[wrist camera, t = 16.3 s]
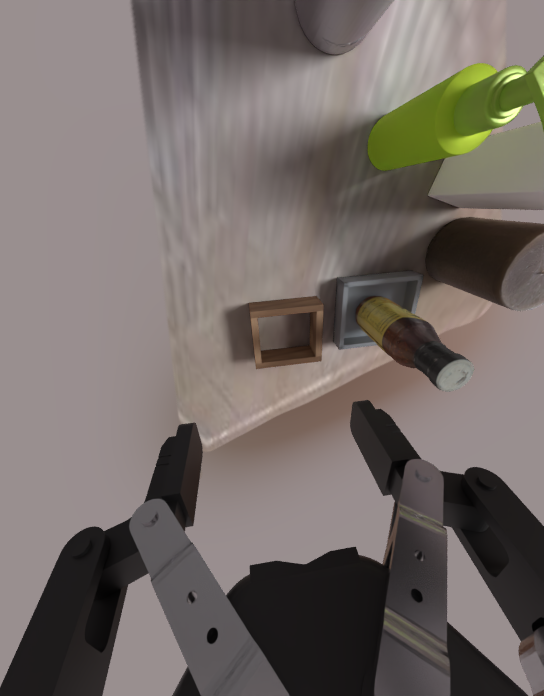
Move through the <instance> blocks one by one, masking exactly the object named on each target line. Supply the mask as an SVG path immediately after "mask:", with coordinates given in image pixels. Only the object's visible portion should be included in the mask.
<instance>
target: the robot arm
mask: <svg viewBox="0 0 544 696" xmlns="http://www.w3.org/2000/svg"><path fill="white" fill-rule="evenodd" d="M393 1H394V0H295V6H296V12H297V15H298V19H299V22H300V25H301V27H302V29H303V31H304V33H305V35H306V36H307V38H308V39H309V40H310V42H311V43H312V44H313V45H314V46H315V47H317V48H318V49H319V50H321V51H323V52H325V53H327V54H335V55H337V54H342V53H346V52H348V51H350V50H352V49H353V48H355V47H356V46H357V45H358V44H359V43H360V42H361V41H362V40H363V39H364V38H365V36H366V35H367V34H368V32H369V31H370V30H371V29H372V27H373V26H374V25H375V24H376V22H377V21H378V20H379V19H380V18H381V16H382V15H383V14H384V13H385V11H386V10H387V9H388V7H389V6H390V5H391V4H392V2H393ZM350 427H351V432H352V435H353V437H354V439H355V441H356V443H357V445H358V447H359V449H360V451H361V453H362V455H363V457H364V459H365V461H366V463H367V465H368V467H369V469H370V471H371V473H372V475H373V476H374V478H375V480H376V483H377V484H378V487H379V489H380V490H381V492H382V494H383V496H385V495H391V494H392V496H393V498H394V500H395V502H394V507H393V512H392V519H391V524H390V530H389V536H388V541H387V546H386V550H385V555H384V560H383V564H381V563H379V562H377V561H375V560H373V559H371V558H368V557H365V556H361V555H358V552H357V549H356V547H351V548H345V549H340V550H335V551H330V552H328V553H326V554H324V555H323V556H321V557H319V558H317V559H315V560H313V561H311V562H310V563H308V564H295V563H289V562H282V561H272V562H267V563H261V564H255V565H250V574H249V575H248V576H246V577H244V578H243V579H242V580H240V581H239V582H238V583H237V584H236V585H235V586H234V587H233V588H232V589H231V590H230V591H229V593H227V595H225V593H224V592H223V590H222V589H221V587H220V585H219V584H218V582H217V581H216V579H215V578H214V576H213V574H212V573H211V571H210V569H209V568H208V566H207V565H206V563H205V561H204V560H203V558H202V557H201V555H200V553H199V552H198V550H197V549H196V547H195V546H194V544H193V543H191V541H190V540H189V538H188V537H187V535H186V534H185V527H189V526H193V523H194V516H195V509H196V501H197V493H198V486H199V478H200V471H201V463H202V453H203V452H202V443H201V439H200V436H199V432H198V429H197V425H196V423H188V424H181V425H179V426H178V430H177V434H176V436H175V437H169V438H168V439H167V440H166V442H165V443H164V444H163V445H162V447H161V450H160V453H159V459H158V460H157V463H156V467H155V470H154V473H153V476H152V480H151V483H150V486H149V490H148V494H147V496H146V499H145V502H144V504H142V505H141V506H140V507H139V508H138V509H137V510H136V511H135V512H134V514H133V515H132V517H131V518H130V519H128V520H127V521H125V522H123V523H121V524H118V525H116V526H114V527H112V528H110V529H108V530H106V531H103V530H102V529H101V528H99V527H89V528H86V529H84V530H82V531H80V532H79V533H77V534H76V535H75V536H74V537H72V538H71V539H70V540H69V541H68V542H67V544H66V545H65V547H64V548H63V550H62V551H61V553H60V556H59V558H58V560H57V562H56V565H55V567H54V569H53V571H52V573H51V576H50V578H49V580H48V582H47V585H46V587H45V589H44V591H43V593H42V596H41V598H40V600H39V602H38V605H37V607H36V609H35V611H34V613H33V616H32V618H31V620H30V622H29V625H28V627H27V629H26V631H25V633H24V636H23V638H22V640H21V642H20V645H19V647H18V649H17V651H16V654H15V656H14V658H13V660H12V663H11V665H10V667H9V669H8V671H7V674H6V676H5V678H4V680H3V682H2V685H1V687H0V696H102V694H103V690H104V685H105V681H106V677H107V673H108V668H109V664H110V660H111V656H112V651H113V647H114V643H115V639H116V634H117V630H118V626H119V622H120V617H121V613H122V609H123V605H124V600H125V595H126V592H127V587H128V584H130V583H132V582H134V581H135V580H137V579H139V578H140V577H142V576H144V575H146V574H148V573H149V575H150V577H151V583H152V585H153V588H154V590H155V592H156V595H157V597H158V599H159V602H160V604H161V606H162V608H163V611H164V613H165V615H166V618H167V620H168V622H169V624H170V626H171V629H172V631H173V633H174V636H175V638H176V640H177V643H178V645H179V647H180V649H181V652H182V654H183V656H184V658H185V661H186V663H187V665H188V667H187V669H186V671H185V673H184V675H183V676H182V678H181V680H180V682H179V684H178V686H177V688H176V690H175V692H174V693H173V695H172V696H528V695H527V694H526V693H525V692H524V691H523V690H522V689H521V688H520V687H518V685H516V684H515V683H514V682H513V681H512V680H511V679H510V678H509V677H508V676H506V675H505V674H504V673H503V672H502V671H501V670H500V669H499V668H498V667H497V666H495V665H494V664H493V663H492V662H491V661H490V660H489V659H488V658H487V657H485V656H484V655H483V654H482V653H481V652H480V651H479V650H478V649H477V648H476V647H475V646H473V645H472V644H471V643H470V642H469V641H468V640H467V639H466V638H465V637H464V636H462V635H461V634H460V633H459V632H458V631H457V630H456V629H455V628H453V626H451V625H450V624H449V623H448V622H447V530H446V528H444V527H443V526H449V527H452V528H453V530H454V532H455V533H456V535H457V537H458V538H459V540H460V542H461V543H462V545H463V546H464V548H465V550H466V551H467V553H468V555H469V556H470V558H471V560H472V561H473V563H474V565H475V566H476V567H477V569H478V571H479V573H480V574H481V576H482V578H483V579H484V581H485V582H486V584H487V586H488V588H489V589H490V591H491V592H492V594H493V596H494V597H495V599H496V601H497V602H498V604H499V606H500V607H501V609H502V611H503V612H504V614H505V615H506V617H507V619H508V620H509V622H510V624H511V625H512V627H513V629H514V630H515V632H516V634H517V635H518V637H519V638H520V640H521V643H520V645H519V658H520V662H521V665H522V667H523V670H524V672H525V674H526V677H527V679H528V681H529V683H530V685H531V688H532V692H533V696H544V526H543V525H542V524H541V523H540V522H539V521H538V519H537V518H536V517H535V516H534V515H533V514H532V513H531V512H530V510H529V509H528V508H527V507H526V506H525V505H524V504H523V503H522V501H521V500H520V499H519V498H518V497H517V496H516V495H515V494H514V493H513V491H512V490H511V489H510V488H509V487H508V486H507V485H506V484H505V483H504V481H502V479H501V478H499V477H498V476H497V475H496V474H494V473H492V472H490V471H488V470H486V469H483V468H478V467H472V468H469V469H467V470H466V472H465V474H464V475H463V474H455V473H448V472H443V471H439V470H438V468H437V467H435V466H434V465H433V464H431V463H429V462H427V461H425V460H422V459H421V458H420V457H419V455H418V454H417V452H416V451H415V450H414V448H413V447H412V446H411V444H410V443H409V441H408V440H407V439H406V437H405V436H404V435H403V433H402V432H401V431H400V429H399V428H398V426H396V424H395V422H394V421H393V419H392V418H391V417H390V416H389V415H388V414H387V413H385V412H384V411H383V410H381V409H375V408H374V406H373V405H372V404H371V402H370V401H369V400H365V401H358V402H353V405H352V413H351V421H350Z"/></svg>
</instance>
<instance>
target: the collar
mask: <svg viewBox="0 0 544 696" xmlns="http://www.w3.org/2000/svg"><path fill="white" fill-rule="evenodd" d="M323 307H324V304H323V303H322V302H321V301H320V300H319V299H318V298H317V296H313V297H303V298H293V299H283V300H273V301H263V302H253V303H249V310H250V319H251V328H252V337H253V346H254V355H255V363H256V369H260V368H268V367H276V366H285V365H293V364H301V363H310V362H318V361H321V358H322V333H323ZM307 312H310V345H308V346H299V347H290V348H281V349H273V350H264V351H261V350H260V339H259V329H258V319H257V318H260V317H269V316H279V315H288V314H298V313H307Z"/></svg>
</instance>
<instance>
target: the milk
mask: <svg viewBox="0 0 544 696" xmlns="http://www.w3.org/2000/svg"><path fill="white" fill-rule="evenodd" d="M428 196H429V197H432V198H435V199H437V200H440V201H443V202H445V203H448V204H451V205H453V206H456V207H459V208H480V209H525V210H544V131H543V126H542V122H538V123H535V124H531V125H527V126H523V127H520V128H516V129H512V130H508V131H505V132H501V133H497V134H493V135H490V136H488V137H487V138H486V139H485V140H484V141H483V142H482V143H481V144H480V145H479V146H478V147H477V148H475V149H474V150H472V151H470V152H468V153H466V154H462V155H458V156H453V157H448V158H445V159H444V161H443V163H442V166H441V168H440V170H439V172H438V174H437V176H436V178H435V180H434V183H433V185H432V187H431V189H430V191H429V193H428Z"/></svg>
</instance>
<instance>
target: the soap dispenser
mask: <svg viewBox="0 0 544 696" xmlns="http://www.w3.org/2000/svg"><path fill="white" fill-rule="evenodd" d="M533 102H534V103H535V106H536V108H537V111H538V113H539V116H540V119H541V122H542V126H543V131H544V56H543V57H542V58H541V59H540V60H539V61H538V62H537V63H536V64H535V65H534V66H533V67H532V68H531V69H530V70H529V71H528V72H527V71H526V70H525V69H524V68H523V67H521V66H517V65H516V66H510V67H507V68H505V69H503V70H501V71H499V72H497V71H496V69H495V68H493V67H492V66H490V65H488V64H484V63H479V64H474V65H471V66H469V67H467V68H465V69H463V70H461V71H460V72H458V73H456V74H455V75H453V76H451V77H450V78H448V79H446V80H444V81H443V82H441V83H439V84H438V85H436V86H434V87H432V88H431V89H429V90H427V91H426V92H424V93H422V94H421V95H419V96H417V97H415V98H414V99H412V100H410V101H409V102H407V103H405V104H404V105H402V106H400V107H398V108H397V109H395V110H393V111H392V112H390V113H388V114H387V115H385V116H383V117H382V118H381V119H380V120H378V122H377V123H376V124H375V125H374V127H373V129H372V131H371V133H370V136H369V139H368V156H369V159H370V161H371V163H372V164H373V165H374V166H375V167H376V168H377V169H379V170H383V171H387V170H392V169H397V168H402V167H406V166H411V165H416V164H420V163H425V162H430V161H434V160H439V159H444V158H448V157H453V156H458V155H462V154H466V153H468V152H470V151H472V150H474V149H475V148H477V147H478V146H479V145H480V144H481V143H482V142H483V141H484V140H485V139H486V138H487V137H488V136H489V134H490V133H491V131H492V130H493V129H495V128H498V127H502V126H504V125H506V124H508V123H509V122H510V121H512V120H513V119H514V118H515V117H516V116H517V115H518V113H519V112H520V111H521V109H522V107H523V106H524V105H527V104H530V103H533Z"/></svg>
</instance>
